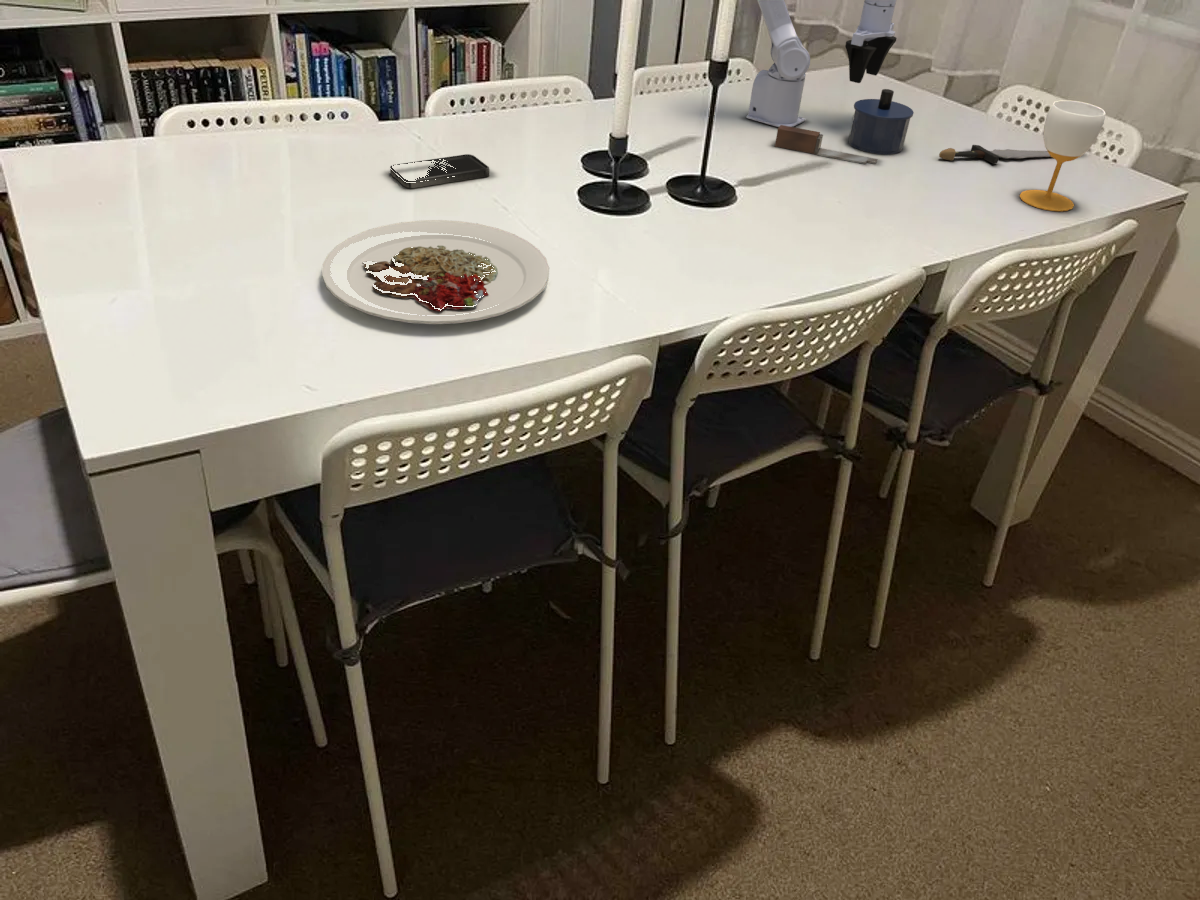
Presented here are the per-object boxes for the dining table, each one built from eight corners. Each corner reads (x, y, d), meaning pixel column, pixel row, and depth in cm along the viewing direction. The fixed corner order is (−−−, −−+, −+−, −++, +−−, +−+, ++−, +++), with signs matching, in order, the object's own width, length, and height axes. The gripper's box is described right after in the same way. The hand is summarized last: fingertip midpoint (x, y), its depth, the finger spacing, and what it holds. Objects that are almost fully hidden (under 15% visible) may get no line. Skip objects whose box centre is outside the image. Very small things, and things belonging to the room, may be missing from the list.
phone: (491, 169, 163) (406, 182, 156) (491, 175, 164) (407, 189, 157) (470, 153, 168) (387, 165, 162) (470, 159, 169) (388, 171, 162)
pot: (839, 144, 188) (846, 110, 185) (862, 131, 195) (869, 98, 191) (889, 158, 184) (897, 123, 180) (910, 145, 191) (919, 111, 187)
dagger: (927, 150, 189) (929, 139, 188) (1080, 153, 193) (1084, 142, 192) (943, 165, 183) (946, 154, 182) (1101, 167, 188) (1105, 156, 186)
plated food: (442, 214, 150) (441, 193, 148) (593, 281, 136) (595, 258, 134) (276, 276, 131) (272, 253, 129) (432, 361, 116) (431, 336, 114)
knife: (774, 147, 185) (777, 128, 183) (777, 142, 187) (781, 124, 185) (874, 166, 180) (879, 147, 178) (877, 161, 182) (881, 142, 180)
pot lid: (843, 113, 185) (848, 89, 182) (867, 100, 192) (872, 78, 190) (898, 127, 180) (903, 104, 177) (921, 114, 187) (927, 91, 185)
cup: (1019, 187, 176) (1049, 96, 166) (1072, 197, 174) (1106, 105, 164) (1019, 205, 169) (1050, 111, 159) (1074, 215, 167) (1110, 120, 157)
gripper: (883, 13, 177) (866, 90, 186) (914, 1, 187) (897, 75, 195) (847, 5, 181) (832, 81, 189) (880, -6, 190) (864, 67, 198)
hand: (863, 78), depth 192 cm, fingers open, 7 cm apart
